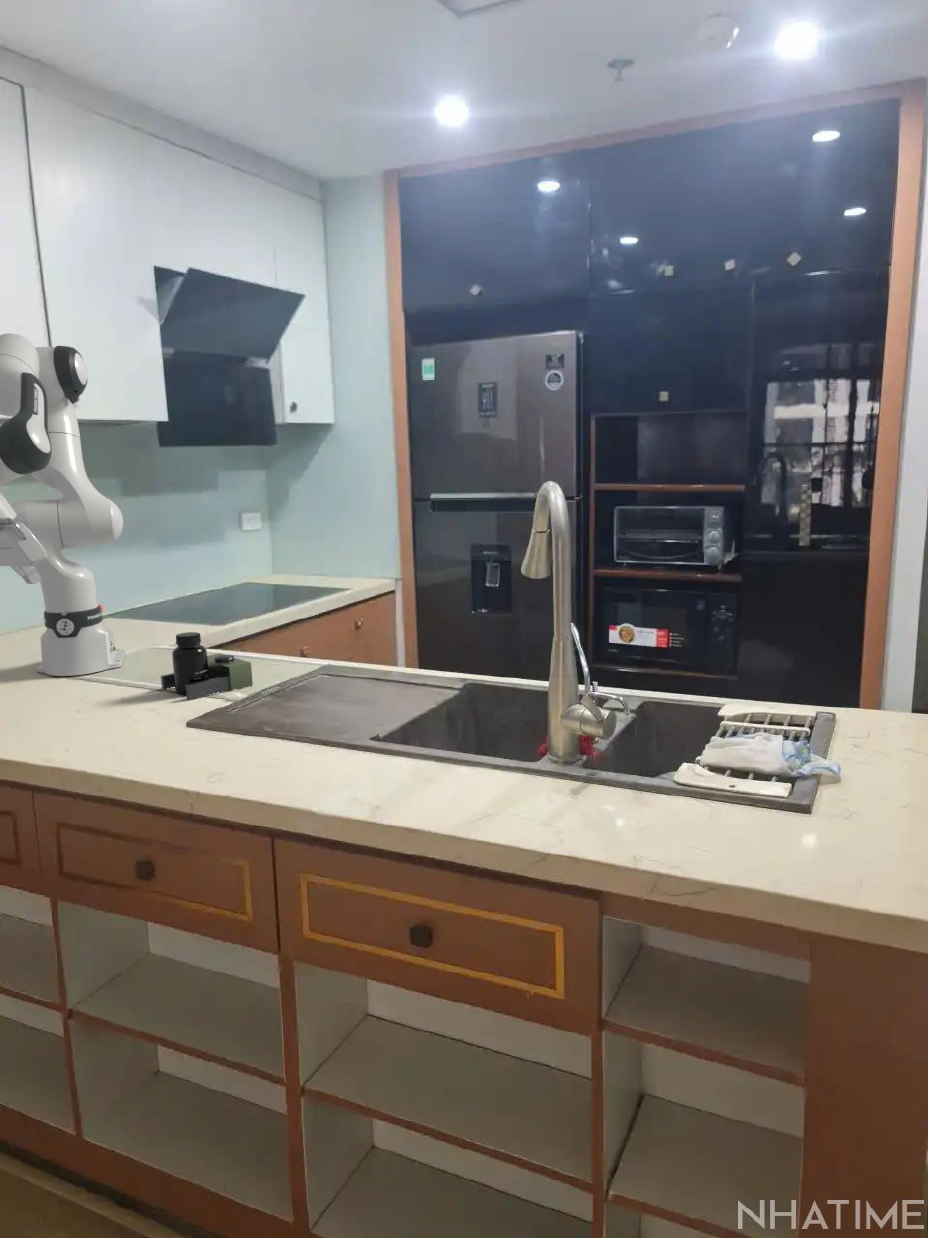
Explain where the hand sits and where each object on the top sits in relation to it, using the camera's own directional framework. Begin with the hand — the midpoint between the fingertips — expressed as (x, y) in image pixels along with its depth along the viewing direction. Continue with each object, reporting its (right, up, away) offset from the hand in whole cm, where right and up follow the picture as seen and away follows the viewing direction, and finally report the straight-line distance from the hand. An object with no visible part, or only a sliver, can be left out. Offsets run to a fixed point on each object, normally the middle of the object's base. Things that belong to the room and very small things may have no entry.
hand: (34, 582), depth 165 cm
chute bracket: (+27, -21, +19) cm, 39 cm away
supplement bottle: (+25, -22, +16) cm, 37 cm away
